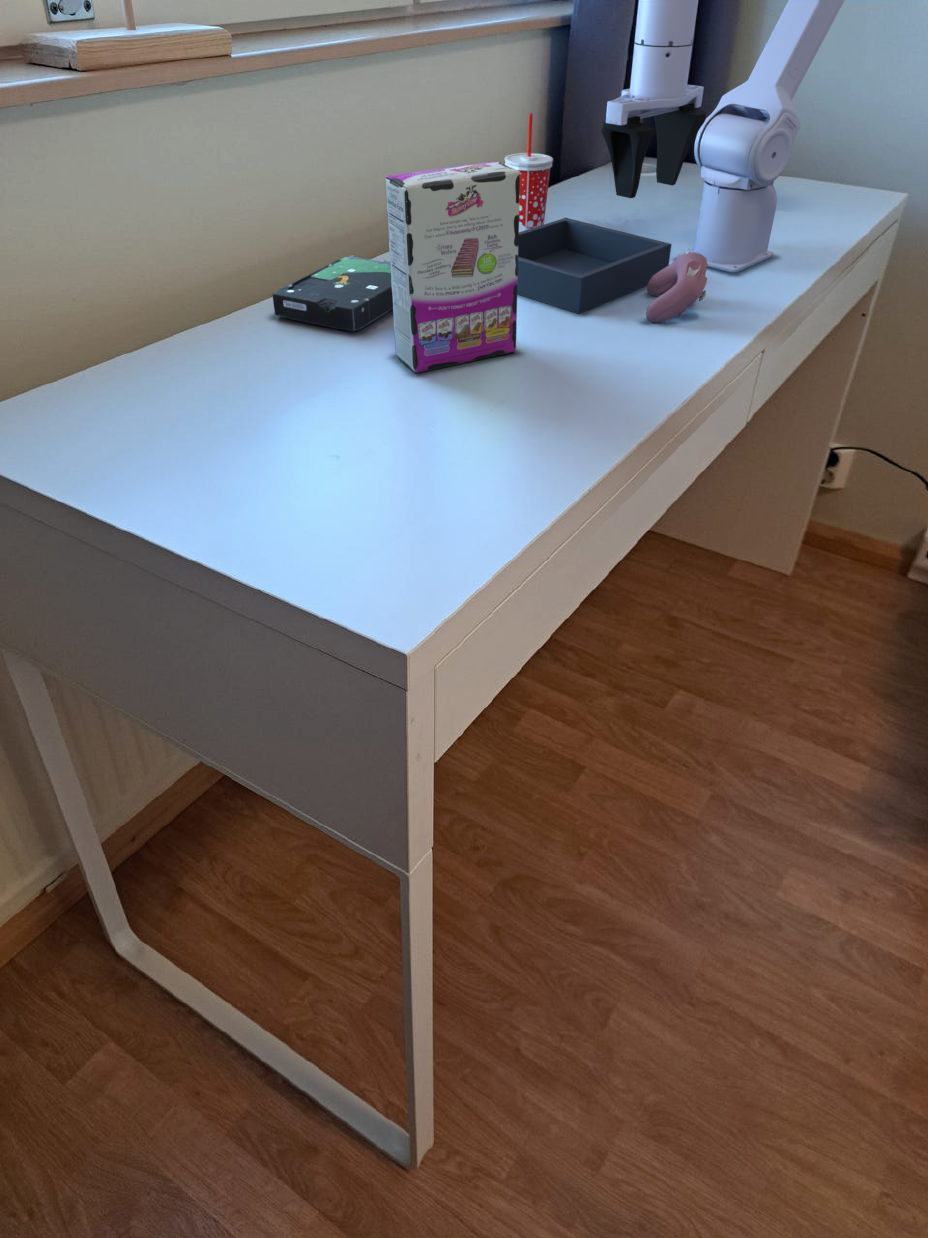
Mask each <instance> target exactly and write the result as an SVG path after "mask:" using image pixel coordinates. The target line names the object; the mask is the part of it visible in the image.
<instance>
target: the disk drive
mask: <svg viewBox="0 0 928 1238" xmlns="http://www.w3.org/2000/svg"><path fill="white" fill-rule="evenodd" d="M356 256H357V255H349V256H348V257H347V256H345V257H342V258H341V259H339V258H338V259H337V260H334V261H332V262H331V263H329V264H328V265H325V266H323V267H321V268H318V269H317V270H315V271H313V272H311V273H309V274H308V275H307V274H306V275H305V276H303V277H301V278H299V279H297V280H294V281H293V282H291V283H288V285H286V286H282V287H281V288H279V289H277V290H276V291H274V292H272V293H271V294H272V302H273V303H272V304H273V309H274V315H275V316H280V317H281V318H286V319H290V320H294V321H299V322H304V323H308V324H314V325H318V326H322V327H323V326H324V327H328V328H332V329H338V330H343V331H344V330H345V331H349V332H356V331H359V330H361V329H363V328H364V327H366V326H368V325H369V324H371V323H372V322H374V321H376V320H377V319H379V318H380V317H382V316H383V315H385V314H387V313H389V312H390V311H392V310H393V297H392V284H391V263H390V260H385V259H384V260H383V261H382V260H374V259H368V258H362V257H356Z"/></svg>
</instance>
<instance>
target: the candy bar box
mask: <svg viewBox="0 0 928 1238" xmlns="http://www.w3.org/2000/svg"><path fill="white" fill-rule="evenodd" d="M384 183H385V184H384V185H385V198H386V202H385V203H386V212H387V213H386V214H387V231H388V247H389V249H388V251H389V261H390V263H391V284H392V297H393V308H392V313H393V314H392V315H393V326H394V328H393V329H394V330H393V331H394V345H395V356H396V357H397V358H398V360H400V361H401V362H402V363H404V364H405V365H406V366H407V367H408V369H410V370H411V371H413V372H414V373H423V372H428V371H432V370H437V369H442V368H446V367H451V366H456V365H461V364H465V363H469V362H475V361H480V360H483V359H487V358H493V357H497V356H501V355H506V354H510V353H511V354H512V353H514V352H516V351H517V324H518V323H517V319H518V314H517V313H518V294H517V283H518V239H519V193H520V171H518V170H515V169H513V168H510V167H508V166H506V165H505V163H504V164H503V163H502V162H499V161H489V162H480V163H473V164H464V165H456V166H450V167H441V168H436V169H428V170H421V171H413V172H406V173H398V174H390V175H386V176H384Z"/></svg>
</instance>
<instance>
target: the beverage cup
mask: <svg viewBox="0 0 928 1238" xmlns="http://www.w3.org/2000/svg"><path fill="white" fill-rule="evenodd" d="M533 117H534V116H533V112H529V113H528V122H527V123H528V124H527V145H526V147H527V148H526V152H519V153H512V154H508V155H505V157H504V165H506V166H508V167H510V168H513V169H515V170H518V171H520V193H519V232H522V231H525V230H528V229H531V228H535V227H538V226H541V225H544V224H545V220H546V219H545V218H546V210H547V200H548V193H549V192H548V191H549V183H550V175H551V174H550V173H551V168H552V167H553V162H554V158H553V157H552V156H550V155H548V154H543V153H539V152H538V153H535V152H532V137H533V136H532V135H533V134H532V133H533Z"/></svg>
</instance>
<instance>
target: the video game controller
mask: <svg viewBox="0 0 928 1238" xmlns="http://www.w3.org/2000/svg"><path fill="white" fill-rule="evenodd" d="M685 252H686V254H683V253H680V254H681V255H680V254H679V255H680V256H679V255H678V256H677V258H676V259H675V260H674V261H673V262H671V263H669V266H667V267H666V268H664V269H662V270H661V271H659V272H658V273H656V274H655V275H653V277H652V278H651V279H650V280H649V282H648V284H647V286H646V291H647V293H648V294H649V295H650V296H653V297H656V298H655V299H654V300H653V301H652V302H651V303H650V304H649V305H648V306H647V308H646V312H645V316H646V319H647V320H648V321H649V322H651V323H654V324H656V323H663V322H668V321H670V320H672V319H674V318H676V317H680V316H682V315H683V314H684V312H685V311H686V310H688V309H690V308H691V307H692V306H693V305H695V303H696V302H697V301H698V302H701V301H703V300H704V299H705V297H706V296H707V290H706V289H705V287H706V286H707V283H708V277H707V276H706V274H707V269H708V266H707V259H706V257H704V256H703V255H701V254H699V253H695V252H692V253H691V252H690V249H687V250H686V251H685ZM704 289H705V290H704Z"/></svg>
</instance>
